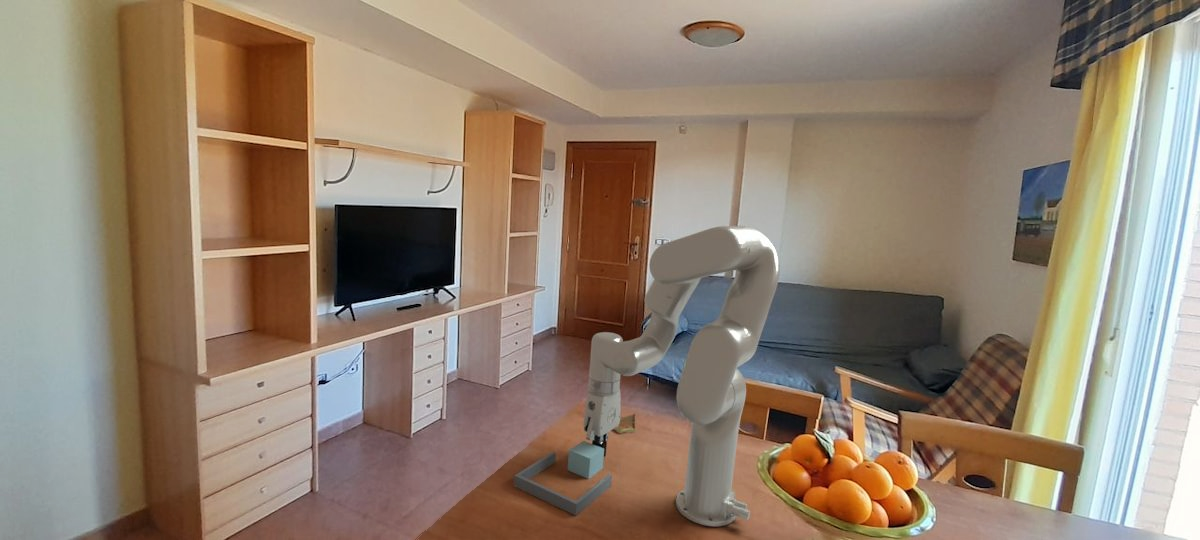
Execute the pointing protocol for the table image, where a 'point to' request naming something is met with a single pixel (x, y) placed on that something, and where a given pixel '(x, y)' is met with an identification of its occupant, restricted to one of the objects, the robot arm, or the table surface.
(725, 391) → the robot arm
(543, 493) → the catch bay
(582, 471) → the teal block
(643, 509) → the table surface
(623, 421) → the shard
